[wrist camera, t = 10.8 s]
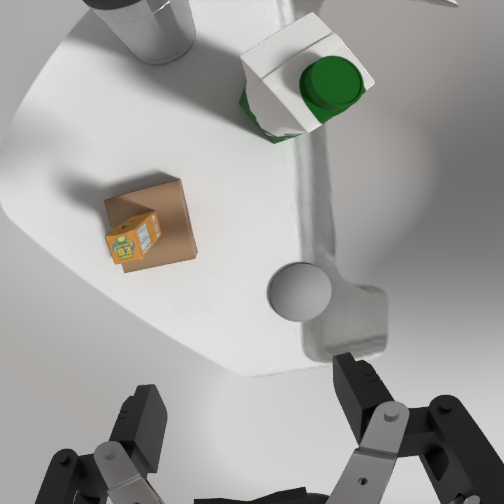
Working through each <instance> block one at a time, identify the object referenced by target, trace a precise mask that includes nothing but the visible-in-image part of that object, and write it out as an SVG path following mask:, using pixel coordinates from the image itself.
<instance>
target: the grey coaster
mask: <svg viewBox="0 0 504 504" xmlns="http://www.w3.org/2000/svg"><path fill="white" fill-rule="evenodd" d="M331 291H332V290H331V283H330V280H329V278H328V276H327V275H326V274H325V272H324V271H323V270H322V269H320V268H319V267H317V266H315V265H312V264H307V263H300V264H295V265H292V266H289V267H287V268H286V269H284V270H283V271H282V272H280V273H279V274H278V276H277V277H276V278H275V280H274V282H273V284H272V287H271V291H270V298H271V303H272V305H273V308H274V309H275V311H276V312H277V313H278V314H279V315H280V316H281V317H283V318H284V319H287V320H290V321H295V322H301V321H307V320H310V319H312V318H314V317H316V316H317V315H319V314H320V313H321V312H322V311H323V310H324V309H325V308H326V306H327V305H328V303H329V300H330V297H331Z"/></svg>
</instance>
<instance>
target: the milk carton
mask: <svg viewBox="0 0 504 504" xmlns="http://www.w3.org/2000/svg"><path fill="white" fill-rule="evenodd" d="M240 59H241V62H242V65H243V69H244V72H245V76H246V79H247V80H246V84H245V87H244V90H243V93H242V96H241V99H240V102H239V104H240V105H241V107H242V108H243V109H244V111H245V112H246V113H247V114H248V116H249V117H250V118H251V119H252V120H253V121H254V122H255V124H256V125H257V126H258V127H259V128H260V129H261V130H262V131H263V132H264V134H265V135H266V136H267V137H268V138H269V139H270V140H271V141H272V142H273V143H274V144H275V143H278V142H281V141H284V140H287V139H290V138H293V137H296V136H298V135H301V134H303V133H305V132H306V133H309V132H311V131H312V130H314V129H316V128H317V127H319V126H320V125H322V124H323V123H325V122H326V121H328V120H329V119H331V118H332V117H333V116H336V115H338V114H340V113H342V112H344V111H345V110H347V109H348V108H349V107H350V106H351V105H353V104H354V103H356V102H357V101H358V100H359V98H360V97H361V96H362V94H364V93H365V92H366V90H367V89H368V88H370V87H371V86H372V85H374V83H375V82H374V80H373V79H372V77H371V76H370V75H369V73H368V72H367V71H366V70H365V69H364V67H363V66H362V64H361V63H360V62H359V61H358V60H357V58H356V57H355V56H354V55H353V53H352V52H351V51H350V50H349V49H348V48H347V46H346V45H345V44H344V42H343V41H342V40H341V39H340V37H339V36H338V35H337V34H335V33H333V32H332V31H331V30H330V29H329V28H328V27H327V26H326V25H325V24H324V23H323V22H322V21H321V20H320V19H319V18H318V17H317V16H316V15H315V14H314V13H313V12H311V13H309V14H308V15H306V16H304V17H302V18H300V19H299V20H297V21H295V22H293V23H292V24H290V25H288V26H286V27H285V28H283V29H281V30H280V31H278V32H276V33H275V34H273V35H272V36H270V37H268V38H267V39H265V40H264V41H262V42H261V43H259V44H258V45H256V46H254V47H253V48H251V49H250V50H249V51H247V52H246V53H244V54H243V55H241V56H240Z"/></svg>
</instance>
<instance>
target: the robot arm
mask: <svg viewBox="0 0 504 504" xmlns="http://www.w3.org/2000/svg"><path fill="white" fill-rule="evenodd" d="M83 1H84V2H85V3H86V4H87V5H88V6H89V7H90V8H91V9H92V10H93V11H94V12H95V14H96V15H98V16H99V18H100V19H101V20H102V21H103V22H104V23H105V24H106V25H107V26H108V27H109V28H110V29H111V30H112V31H113V32H114V33H115V34H116V36H117V37H118V38H119V39H120V40H121V41H122V42H123V43H124V44H125V45H126V46H127V48H128V49H129V50H130V51H131V52H132V53H133V54H134V55H135V56H136V57H137V58H138V59H139V60H140V61H142V62H145V63H147V64H152V65H160V64H166V63H169V62H172V61H174V60H176V59H178V58H180V57H181V56H182V55H184V54H185V53H186V52H187V51H188V50H189V48H190V47H191V45H192V44H193V42H194V39H195V33H196V30H195V25H194V21H193V17H192V13H191V9H190V5H189V1H188V0H83ZM333 382H334V388H335V392H336V395H337V397H338V399H339V402H340V404H341V406H342V409H343V411H344V413H345V415H346V418H347V420H348V422H349V424H350V427H351V429H352V431H353V434H354V436H355V438H356V441H357V443H358V445H360V446H359V447H358V449H357V448H356V449H355V450H354V452H353V454H352V455H351V457H350V459H349V461H348V464H347V465H346V467H345V470H344V471H343V474H342V475H341V477H340V479H339V481H338V483H337V484H336V486H335V488H334V490H333V492H332V493H331V495H330V496H328V495H325V494H318V493H307V492H306V488H305V487H301V488H296V489H290V490H285V491H279V492H275V493H273V494H270V495H267V496H264V497H261V498H258V499H255V500H252V501H240V500H231V499H224V498H211V499H194V504H380V502H381V499H382V497H383V494H384V492H385V489H386V486H387V484H388V482H389V479H390V477H391V474H392V471H393V469H394V466H395V463H396V460H397V458H399V457H408V456H417V455H418V456H419V458H420V460H421V462H422V464H423V466H424V468H425V470H426V473H427V474H428V477H429V479H430V481H431V483H432V485H433V488H434V489H435V492H436V494H437V496H438V499H439V501H440V503H441V504H504V464H503V462H502V460H501V459H500V458H499V456H498V454H497V453H496V451H495V450H494V448H493V447H492V445H491V444H490V442H489V441H488V440H487V438H486V437H485V435H484V434H483V432H482V431H481V429H480V428H479V427H478V425H477V424H476V422H475V421H474V420H473V418H472V417H471V416H470V414H469V413H468V411H467V410H466V408H465V407H464V406H463V404H462V403H461V402H460V400H459V399H458V398H456V397H454V396H451V395H440V396H438V397H436V398H434V399H433V400H432V401H431V402H430V405H429V406H428V407H420V408H407V407H406V406H405V405H404V404H403V403H400V402H396V401H395V400H394V399H393V397H392V396H391V394H390V393H389V391H388V389H387V388H386V386H385V385H384V383H383V382H382V380H380V377H379V376H378V374H376V371H375V370H374V368H373V367H372V365H371V364H369V363H367V362H366V361H364V360H360V361H355V360H354V358H353V356H352V355H351V353H350V352H347V353H343V354H339V355H335V356H333ZM166 423H167V410H166V407H165V405H164V403H163V401H162V399H161V396H160V394H159V392H158V390H157V388H156V386H155V385H154V384H149V385H138V386H137V388H136V391H135V394H134V396H129V397H128V398H127V400H126V401H125V402H124V403H123V405H122V407H121V410H120V413H119V415H118V419H117V420H116V423H115V425H114V428H113V431H112V433H111V436H110V439H109V441H108V442H104V443H102V444H100V445H99V446H98V447H97V448H96V449H95V452H94V453H93V454H88V455H82V456H78V455H77V454H76V452H75V451H74V450H72V449H62V450H60V451H58V452H57V453H56V454H55V455H54V456H53V458H52V460H51V462H50V465H49V467H48V470H47V473H46V475H45V477H44V480H43V483H42V486H41V488H40V491H39V494H38V496H37V499H36V502H35V504H106V501H107V497H108V496H109V497H110V499H111V500H112V502H113V504H165V503H164V502H163V501H162V499H161V498H160V496H159V495H158V494H157V493H156V491H155V490H154V488H153V487H152V486H151V484H150V483H149V481H148V480H147V474H148V473H157V469H158V464H159V458H160V453H161V448H162V443H163V438H164V433H165V428H166ZM76 491H77V493H76ZM75 494H76V496H75ZM74 497H75V500H74ZM73 501H74V503H73Z"/></svg>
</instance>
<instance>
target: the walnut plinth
mask: <svg viewBox="0 0 504 504" xmlns="http://www.w3.org/2000/svg"><path fill="white" fill-rule="evenodd" d="M104 201H105V205H106V210H107V214H108V218H109V221H110V225H111V229H112V230H113V229H115V228H116V227H118V226H119V225H120V224H122V223H123V222H125V221H126V220H128V219H129V218H131V217H132V216H135V215H139V214H143V213H147V212H151V211H156V213H157V217H158V221H159V226H160V230H161V235H160V237H159V238H158V239H157V240H156V242H155V243H154V244H153V246H152V247H151V248H150V250H149V251H148V252H147V253H146V255H145V256H144V258H143V259H141V260H136V261H131V262H127V263H122V267H123V270H124V273H128V272H133V271H137V270H142V269H147V268H152V267H157V266H162V265H166V264H171V263H176V262H181V261H186V260H191V259H195V258H196V255H197V253H198V251H197V247H196V243H195V239H194V235H193V231H192V226H191V222H190V218H189V214H188V209H187V205H186V200H185V196H184V191H183V187H182V182H181V180H177V181H173V182H169V183H165V184H161V185H157V186H153V187H149V188H145V189H142V190H138V191H134V192H131V193H127V194H123V195H120V196H116V197H113V198H110V199H106V200H104Z"/></svg>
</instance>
